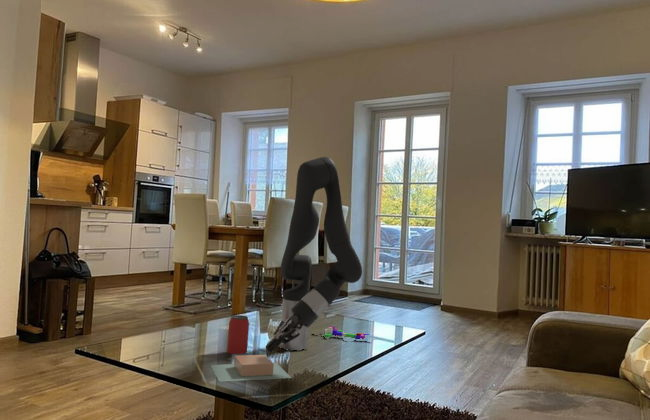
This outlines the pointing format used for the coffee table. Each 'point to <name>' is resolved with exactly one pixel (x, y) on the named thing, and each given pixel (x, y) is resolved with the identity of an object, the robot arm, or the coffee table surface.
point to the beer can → (238, 335)
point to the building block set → (342, 333)
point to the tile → (253, 365)
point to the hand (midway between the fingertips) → (267, 350)
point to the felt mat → (231, 374)
